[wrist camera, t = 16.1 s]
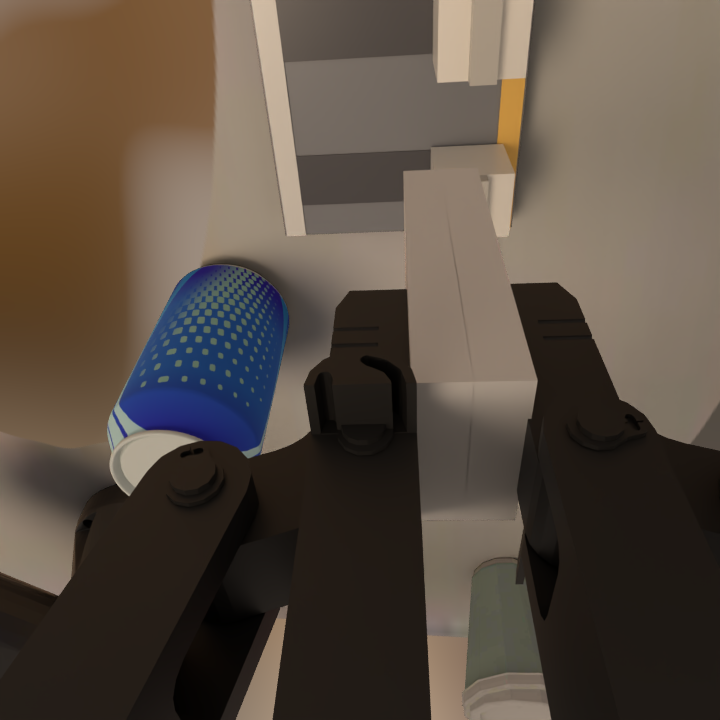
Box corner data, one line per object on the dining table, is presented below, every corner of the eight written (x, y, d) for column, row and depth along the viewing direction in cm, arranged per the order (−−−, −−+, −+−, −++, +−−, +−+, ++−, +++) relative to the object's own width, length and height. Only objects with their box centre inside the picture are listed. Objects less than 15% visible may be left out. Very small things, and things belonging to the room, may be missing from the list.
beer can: (166, 329, 46) (83, 502, 34) (188, 237, 41) (100, 399, 28) (272, 364, 48) (231, 539, 35) (307, 279, 43) (272, 449, 30)
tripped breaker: (432, 59, 31) (438, 87, 27) (433, -20, 29) (439, -2, 25) (511, 55, 31) (528, 83, 27) (518, -26, 29) (538, -8, 25)
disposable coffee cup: (498, 609, 69) (520, 759, 58) (429, 574, 65) (437, 727, 54) (573, 571, 64) (613, 728, 52) (502, 530, 60) (528, 690, 48)
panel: (289, 220, 40) (273, 280, 34) (215, -287, 25) (164, -330, 20) (506, 212, 39) (526, 271, 33) (558, -321, 24) (608, -377, 19)
